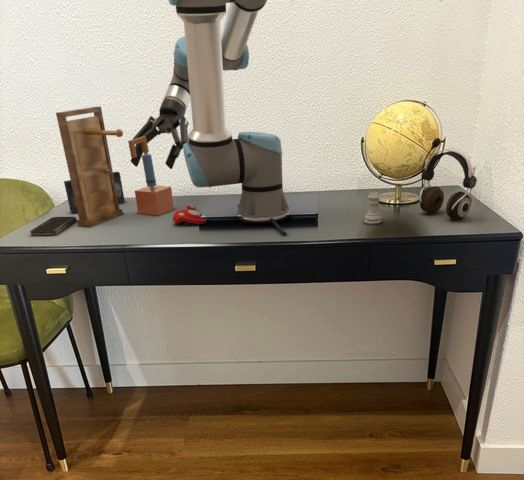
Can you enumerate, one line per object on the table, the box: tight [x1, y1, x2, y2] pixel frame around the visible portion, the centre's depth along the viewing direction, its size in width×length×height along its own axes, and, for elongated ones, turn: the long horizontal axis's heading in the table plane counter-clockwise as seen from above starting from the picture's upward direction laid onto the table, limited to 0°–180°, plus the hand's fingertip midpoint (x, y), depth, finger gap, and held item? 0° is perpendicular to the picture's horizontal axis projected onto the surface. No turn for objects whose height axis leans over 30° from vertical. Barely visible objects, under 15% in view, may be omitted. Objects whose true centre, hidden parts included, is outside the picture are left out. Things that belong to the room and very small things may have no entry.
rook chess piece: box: [364, 191, 382, 226], centre depth 145 cm, size 4×4×8 cm
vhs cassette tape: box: [63, 171, 126, 214], centre depth 174 cm, size 18×3×10 cm, turn 128°
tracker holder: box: [172, 203, 208, 225], centre depth 156 cm, size 12×4×10 cm
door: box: [55, 106, 124, 228], centre depth 153 cm, size 15×16×31 cm
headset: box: [419, 137, 478, 221], centre depth 144 cm, size 17×8×20 cm, turn 34°
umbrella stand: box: [134, 184, 175, 216], centre depth 167 cm, size 8×8×7 cm
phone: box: [30, 216, 77, 236], centre depth 157 cm, size 8×1×15 cm
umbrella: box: [127, 136, 157, 190], centre depth 161 cm, size 8×3×22 cm, turn 151°
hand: (150, 165), depth 163 cm, fingers open, 13 cm apart
